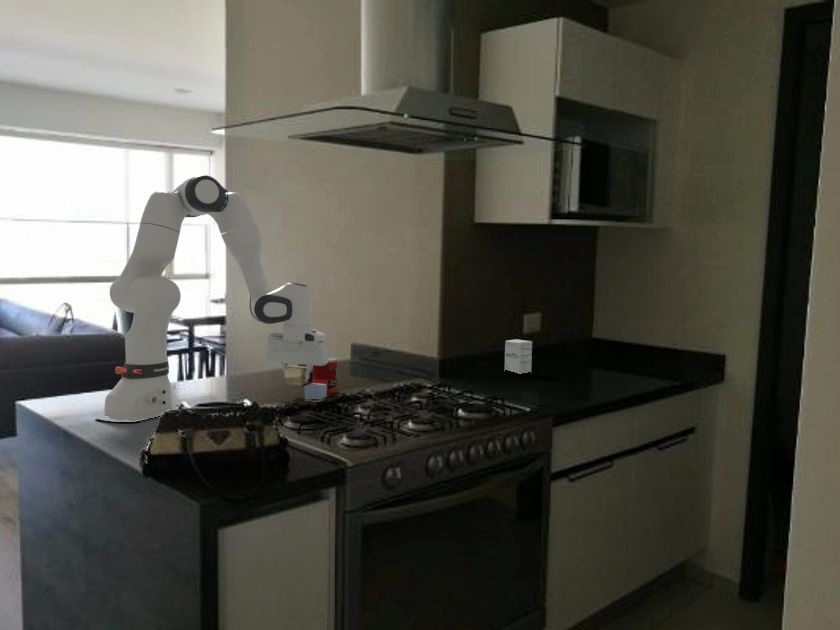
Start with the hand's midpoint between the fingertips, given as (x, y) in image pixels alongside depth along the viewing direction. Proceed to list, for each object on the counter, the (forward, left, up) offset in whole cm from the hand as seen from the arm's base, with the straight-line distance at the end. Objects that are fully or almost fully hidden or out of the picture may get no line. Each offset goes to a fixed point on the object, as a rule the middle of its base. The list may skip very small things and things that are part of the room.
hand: (296, 378), depth 236 cm
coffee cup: (+24, +8, -6) cm, 26 cm away
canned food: (+10, -5, -6) cm, 13 cm away
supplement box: (+65, -58, -6) cm, 87 cm away
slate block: (-3, -8, -6) cm, 11 cm away
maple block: (0, 0, -2) cm, 2 cm away
